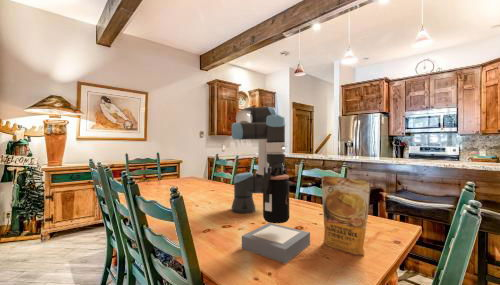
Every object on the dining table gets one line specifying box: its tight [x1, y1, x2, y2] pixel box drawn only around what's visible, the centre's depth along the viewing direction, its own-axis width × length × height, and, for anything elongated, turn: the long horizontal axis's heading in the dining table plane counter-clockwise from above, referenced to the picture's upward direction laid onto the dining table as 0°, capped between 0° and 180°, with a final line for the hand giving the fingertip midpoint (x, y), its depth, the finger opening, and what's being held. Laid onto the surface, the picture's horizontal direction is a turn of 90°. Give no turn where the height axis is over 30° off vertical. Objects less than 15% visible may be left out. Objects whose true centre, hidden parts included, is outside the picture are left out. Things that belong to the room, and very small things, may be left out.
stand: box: [241, 222, 311, 265], centre depth 96 cm, size 20×20×5 cm
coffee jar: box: [262, 174, 290, 225], centre depth 96 cm, size 11×11×18 cm
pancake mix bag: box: [320, 175, 372, 256], centre depth 95 cm, size 7×19×28 cm, turn 45°
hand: (276, 207), depth 96 cm, fingers closed on coffee jar, 11 cm apart
